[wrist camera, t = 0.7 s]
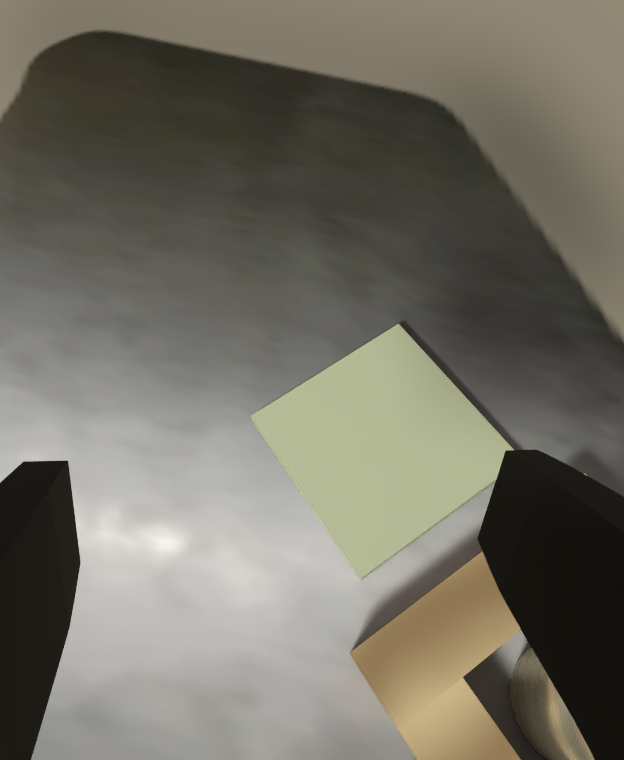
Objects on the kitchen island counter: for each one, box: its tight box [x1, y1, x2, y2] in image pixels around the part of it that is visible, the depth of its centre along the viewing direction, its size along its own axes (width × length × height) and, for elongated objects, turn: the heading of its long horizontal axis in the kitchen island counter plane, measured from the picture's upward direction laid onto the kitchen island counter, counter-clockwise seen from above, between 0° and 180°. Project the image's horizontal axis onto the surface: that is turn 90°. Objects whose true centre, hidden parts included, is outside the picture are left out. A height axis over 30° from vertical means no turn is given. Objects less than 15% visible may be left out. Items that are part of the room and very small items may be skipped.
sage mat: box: [251, 324, 514, 580], centre depth 26 cm, size 9×9×1 cm
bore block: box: [350, 473, 587, 760], centre depth 20 cm, size 12×12×2 cm
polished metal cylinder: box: [511, 647, 594, 760], centre depth 17 cm, size 4×4×8 cm
